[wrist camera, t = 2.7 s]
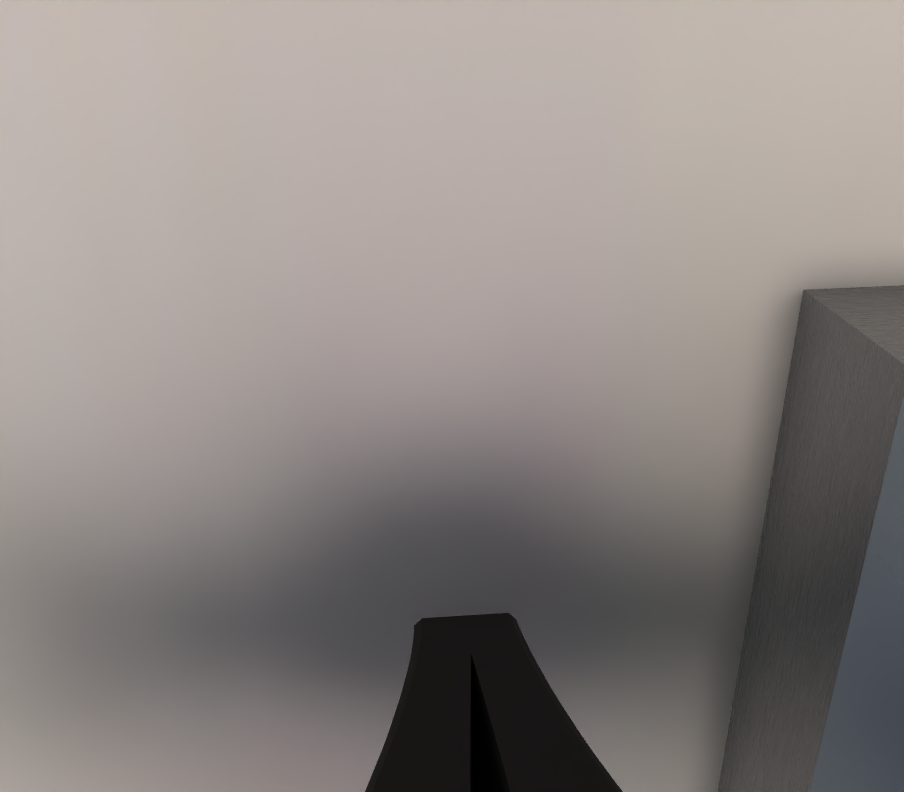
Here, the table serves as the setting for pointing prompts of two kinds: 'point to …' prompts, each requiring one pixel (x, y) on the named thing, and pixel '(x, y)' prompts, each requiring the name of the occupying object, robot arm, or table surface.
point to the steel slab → (830, 565)
